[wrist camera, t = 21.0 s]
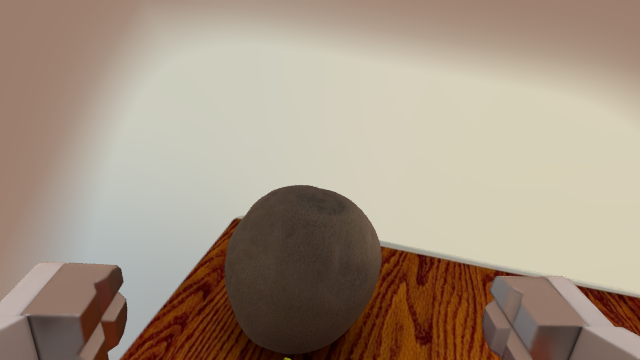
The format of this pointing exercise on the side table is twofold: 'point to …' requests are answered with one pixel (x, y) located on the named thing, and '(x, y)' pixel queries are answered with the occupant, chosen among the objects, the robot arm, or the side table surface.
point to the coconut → (301, 268)
